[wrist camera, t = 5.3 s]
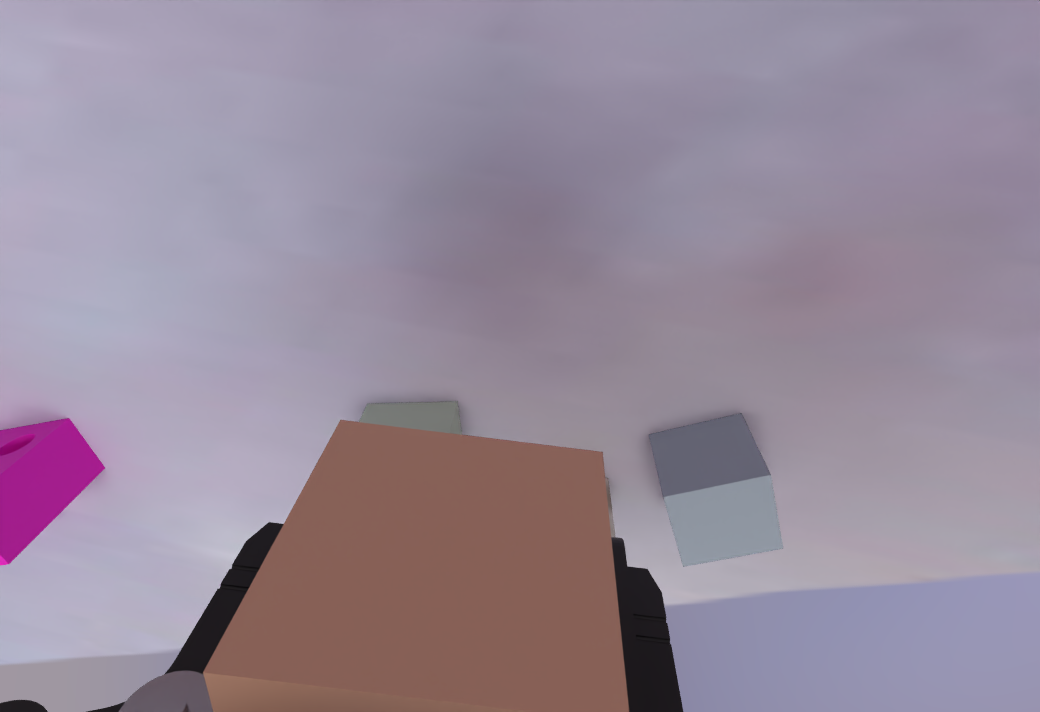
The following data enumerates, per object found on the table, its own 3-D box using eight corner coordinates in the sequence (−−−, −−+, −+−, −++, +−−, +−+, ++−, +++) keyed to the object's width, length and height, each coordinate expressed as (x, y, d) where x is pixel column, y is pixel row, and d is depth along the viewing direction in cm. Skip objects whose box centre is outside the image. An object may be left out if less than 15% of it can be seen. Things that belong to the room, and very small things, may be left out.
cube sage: (457, 400, 32) (442, 459, 28) (467, 471, 35) (455, 536, 30) (367, 402, 33) (339, 461, 28) (384, 472, 35) (359, 537, 31)
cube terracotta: (602, 451, 11) (630, 723, 7) (564, 620, 14) (566, 898, 9) (340, 419, 11) (202, 672, 7) (349, 594, 14) (252, 861, 9)
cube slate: (740, 412, 32) (770, 474, 27) (753, 480, 34) (783, 548, 30) (648, 433, 33) (663, 496, 28) (666, 498, 35) (683, 566, 31)
